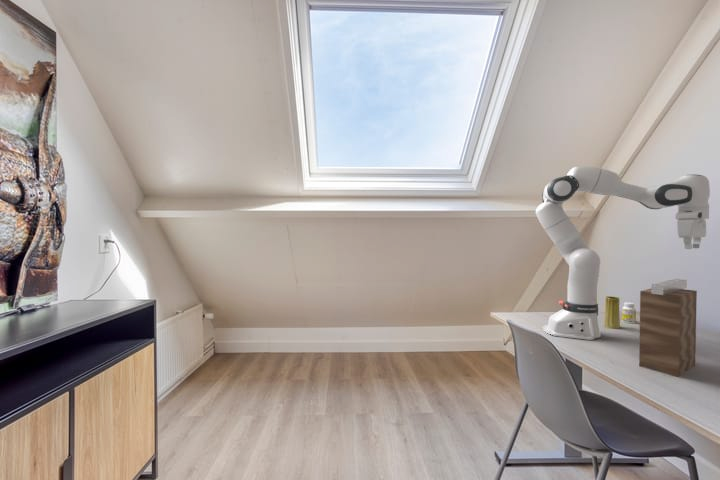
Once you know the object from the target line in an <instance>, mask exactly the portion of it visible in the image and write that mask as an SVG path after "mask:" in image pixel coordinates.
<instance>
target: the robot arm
mask: <svg viewBox="0 0 720 480" xmlns="http://www.w3.org/2000/svg"><path fill="white" fill-rule="evenodd" d="M710 190H711V189H710V182H709V179H708V177H707V176H705V175H702V174H695V173H694V174H685V175H682V176H681V177H679V178H677V179H675V180H672V181H670V182H667V183H665V184H660V185H657V186H650V187H641V186H638V185H634V184H630V183H626V182H625V181H622V180H621V177H620V176H619V174H618V173H617V172H614V171H611V170H608V169H605V168H599V167H593V166H584V165H583V166H582V165H580V166H578V165H577V166H573V167H572V168H571V169H570V170H569V171H568V172H567V174H566V175H565V176H560V177H556V178H554V179H552V180H551V181H549V182H548V183H547V184H546V185H545V186H544V188H543V189H542V192H541V193H542V194H541V195H542V203H541V204H539V205H538V206H537V207H536V209H535V216H536V217H537V220H538V221H539V223H540V226H541V227H542V228H543V230H544V232H545V233H546V235H548V237H549V238H550V240H551V241H552V242H553V244H554V246H555V247H556V249H557V251H558V252H559V253H560V256H562V258H563V260H564V262H566V265H568V266H569V268H568V269H569V270H568V279H567V288H566V289H567V293H566V294H567V299H566V301H562V300H559V302H558V304H559V305H560V306H561V307H562V309H560V310H558V311H556V312H554V314H551V315H550V316H549V318H548V321H547V324H544V325H542V328H543V329H542V330H543V332H544V333H546V334H547V333H548V334H547V335H550V334H551V335H550V336H552V335H553V337H561V338H571V339H578V340H585V341H586V340H588V341H594V340H595V339H597V338H601V337H602V334H601V331H600V328H599V321H598V316H599V304H598V282H599V277H600V275H599V274H600V268H601V258H600V255H599V254H598V253H597V252H596V251H595V250H593V249H591V248H589V246H588V245H587V243H586V242H585V240H584V238H583V237H582V235H581V233H580V231H579V229H578V228H577V227H576V226H575V224H574V222H573V221H572V220H571V219H570V217H569V216H568V214H567V213H566V212H565V211H564V209H563V208H564V207H563V203H565V202H567V201H568V200H570V199H571V198H572V197H573V196H574V194H575V193H576V192H585V193H589V194H595V195H600V196H613V197H619V198H623V199H627V200H631V201H635V202H638V203H640V204H641V205H642V206H644V207H645V208H647V209H650V210H660V209H663V208H665V209H666V208H671V207H675V206H677V208H678V209H677V213H676V214H675V219H676V226H677V227H676V229H677V231H676V232H677V235H678V238H679V239H680V238H682V240H683V244H684V250H691V249H700V248H701V247H700V246H701V242H702V238H705V237H706V236H707V221H706V220H708V219H710V203H709V199H710V195H711V194H710V193H711V192H710ZM692 240H693V241H692ZM692 242H693V243H692Z"/></svg>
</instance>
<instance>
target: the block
mask: <svg viewBox="0 0 720 480" xmlns="http://www.w3.org/2000/svg"><path fill="white" fill-rule="evenodd" d="M687 282H688V280H687V279H682V278H672V279H669V280H665V281H660V282H657V283H651V288H650V289H651V294H659V295H665V294H669V293H672V292H675V291H678V290H682V289H685V290H686V289H687V287H688V286H687V285H688V283H687Z"/></svg>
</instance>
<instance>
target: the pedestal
mask: <svg viewBox="0 0 720 480" xmlns="http://www.w3.org/2000/svg"><path fill="white" fill-rule="evenodd" d="M697 292H698V290H694V289H693V290H692V289H686V288H685V289H682V290H678V291H675V292H672V293H669V294H665V295H659V294H651V288H648V289H644V290H640V291H639V293H640V295H639V298H640V299H639V348H638V349H639V354H638V355H639V356H638V360H639V363H638V365H639V367H642V368H645V369H649V370H652V371H655V372H658V373H662V374H667V375H669V376H673V377H677V378H679V377H681V376H682V375H683V374H685V373H687V372H688V371H690V370H691V369H693V368H694V367H696V347H697V346H696V342H697V295H698V294H697Z"/></svg>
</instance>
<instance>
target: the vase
mask: <svg viewBox="0 0 720 480" xmlns="http://www.w3.org/2000/svg"><path fill="white" fill-rule="evenodd" d="M604 308H605V309H604V310H605V311H604V323H603V324H604V325H603V326H604V327H605V328H609V329H615V330H618V329H621V322H620V321H621V320H620V297H618V296H605V307H604Z"/></svg>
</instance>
